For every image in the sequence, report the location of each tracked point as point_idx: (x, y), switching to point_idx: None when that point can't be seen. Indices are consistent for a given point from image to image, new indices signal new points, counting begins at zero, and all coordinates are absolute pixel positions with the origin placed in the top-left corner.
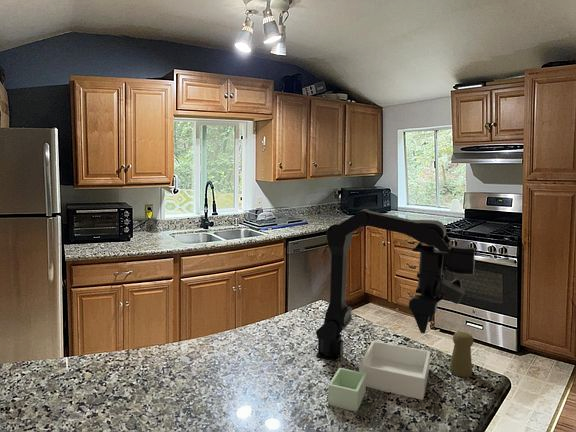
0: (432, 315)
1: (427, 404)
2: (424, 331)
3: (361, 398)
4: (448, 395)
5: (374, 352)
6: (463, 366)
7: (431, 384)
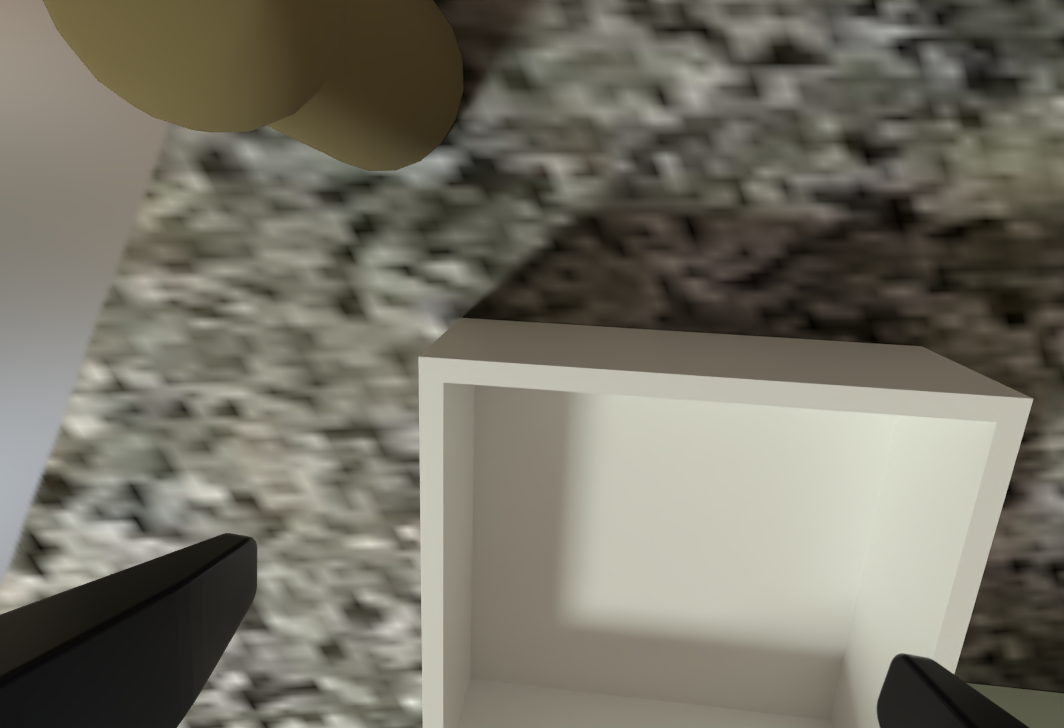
0: (169, 601)
1: (972, 315)
2: (963, 697)
3: (1052, 708)
4: (801, 170)
5: (463, 705)
6: (429, 36)
7: (674, 295)
